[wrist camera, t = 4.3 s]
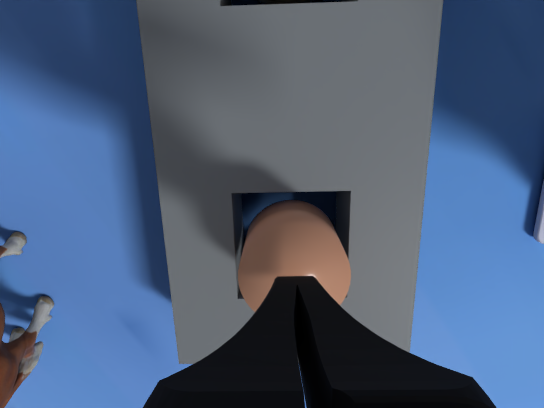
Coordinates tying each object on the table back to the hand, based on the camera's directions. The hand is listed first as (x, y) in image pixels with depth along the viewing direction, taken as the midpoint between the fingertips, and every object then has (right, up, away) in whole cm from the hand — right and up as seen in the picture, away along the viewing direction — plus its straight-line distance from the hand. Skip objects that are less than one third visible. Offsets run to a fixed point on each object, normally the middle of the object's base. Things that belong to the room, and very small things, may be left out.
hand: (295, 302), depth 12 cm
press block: (0, +9, +7) cm, 11 cm away
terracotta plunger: (0, +1, +5) cm, 5 cm away
